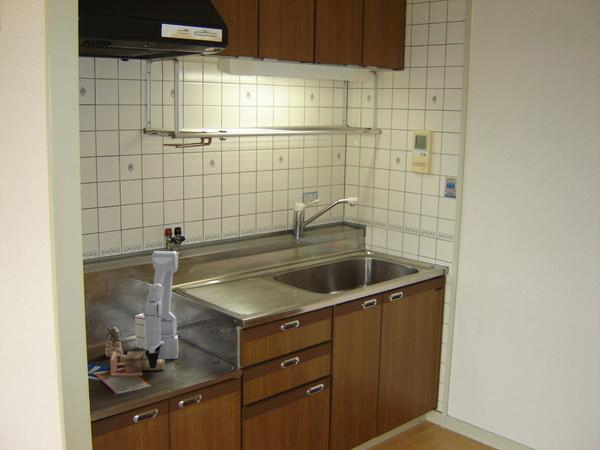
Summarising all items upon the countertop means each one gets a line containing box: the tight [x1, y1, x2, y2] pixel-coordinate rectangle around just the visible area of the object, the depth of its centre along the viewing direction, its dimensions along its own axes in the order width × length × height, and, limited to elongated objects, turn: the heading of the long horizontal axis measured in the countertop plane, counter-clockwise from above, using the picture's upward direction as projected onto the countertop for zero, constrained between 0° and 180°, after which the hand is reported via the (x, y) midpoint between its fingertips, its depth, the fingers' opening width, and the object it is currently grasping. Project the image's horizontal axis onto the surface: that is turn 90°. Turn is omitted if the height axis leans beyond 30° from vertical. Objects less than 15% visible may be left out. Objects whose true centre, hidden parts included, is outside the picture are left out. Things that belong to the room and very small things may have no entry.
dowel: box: [141, 359, 166, 371], centre depth 278 cm, size 12×4×4 cm, turn 97°
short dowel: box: [119, 354, 127, 363], centre depth 286 cm, size 8×3×3 cm, turn 97°
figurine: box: [104, 326, 124, 358], centre depth 294 cm, size 7×7×12 cm
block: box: [124, 350, 144, 374], centre depth 277 cm, size 6×9×6 cm, turn 7°
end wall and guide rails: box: [109, 352, 143, 377], centre depth 277 cm, size 12×12×6 cm
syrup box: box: [134, 312, 149, 350], centre depth 304 cm, size 6×6×14 cm
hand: (153, 364), depth 278 cm, fingers open, 7 cm apart
